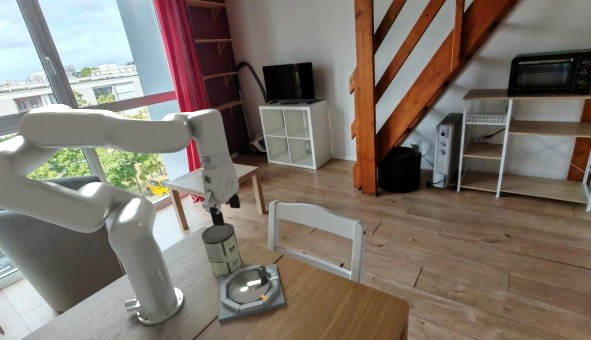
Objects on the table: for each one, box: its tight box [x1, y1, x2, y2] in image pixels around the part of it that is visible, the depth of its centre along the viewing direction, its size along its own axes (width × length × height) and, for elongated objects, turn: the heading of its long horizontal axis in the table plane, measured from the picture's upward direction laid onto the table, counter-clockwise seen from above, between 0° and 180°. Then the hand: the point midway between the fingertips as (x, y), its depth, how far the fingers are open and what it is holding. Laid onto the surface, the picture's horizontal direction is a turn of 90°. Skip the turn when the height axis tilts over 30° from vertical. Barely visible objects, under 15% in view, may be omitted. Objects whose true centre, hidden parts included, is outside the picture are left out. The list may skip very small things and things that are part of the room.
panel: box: [218, 263, 286, 324], centre depth 87 cm, size 18×17×3 cm
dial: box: [229, 265, 270, 305], centre depth 86 cm, size 12×12×6 cm
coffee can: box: [201, 222, 243, 278], centre depth 97 cm, size 10×10×14 cm
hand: (227, 215), depth 83 cm, fingers open, 8 cm apart
